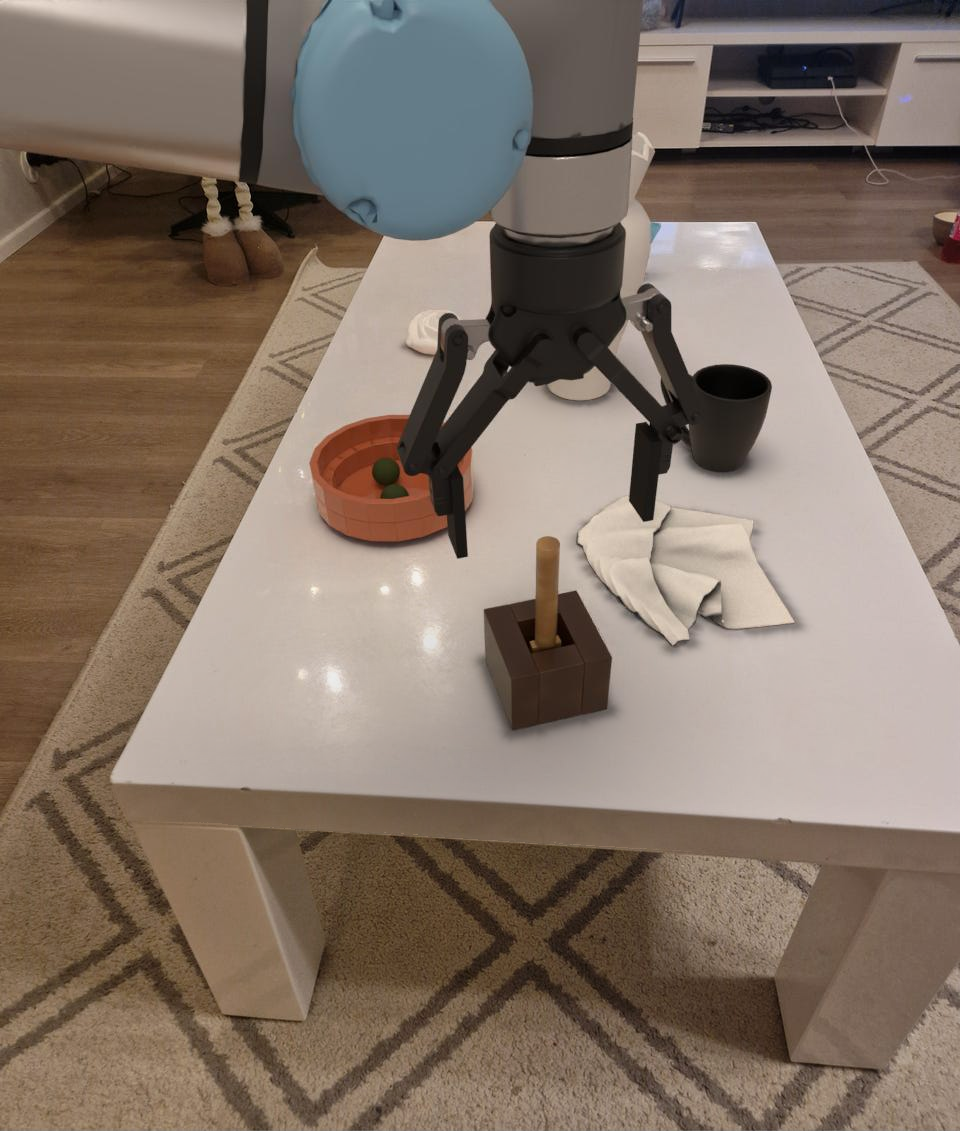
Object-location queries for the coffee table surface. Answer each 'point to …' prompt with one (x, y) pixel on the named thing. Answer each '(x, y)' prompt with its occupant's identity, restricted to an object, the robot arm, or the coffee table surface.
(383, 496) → the olive
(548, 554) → the stick
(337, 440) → the bowl
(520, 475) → the coffee table surface
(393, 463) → the ball
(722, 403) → the mug
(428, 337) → the rose
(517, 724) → the holder
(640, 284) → the vase
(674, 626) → the cloth
